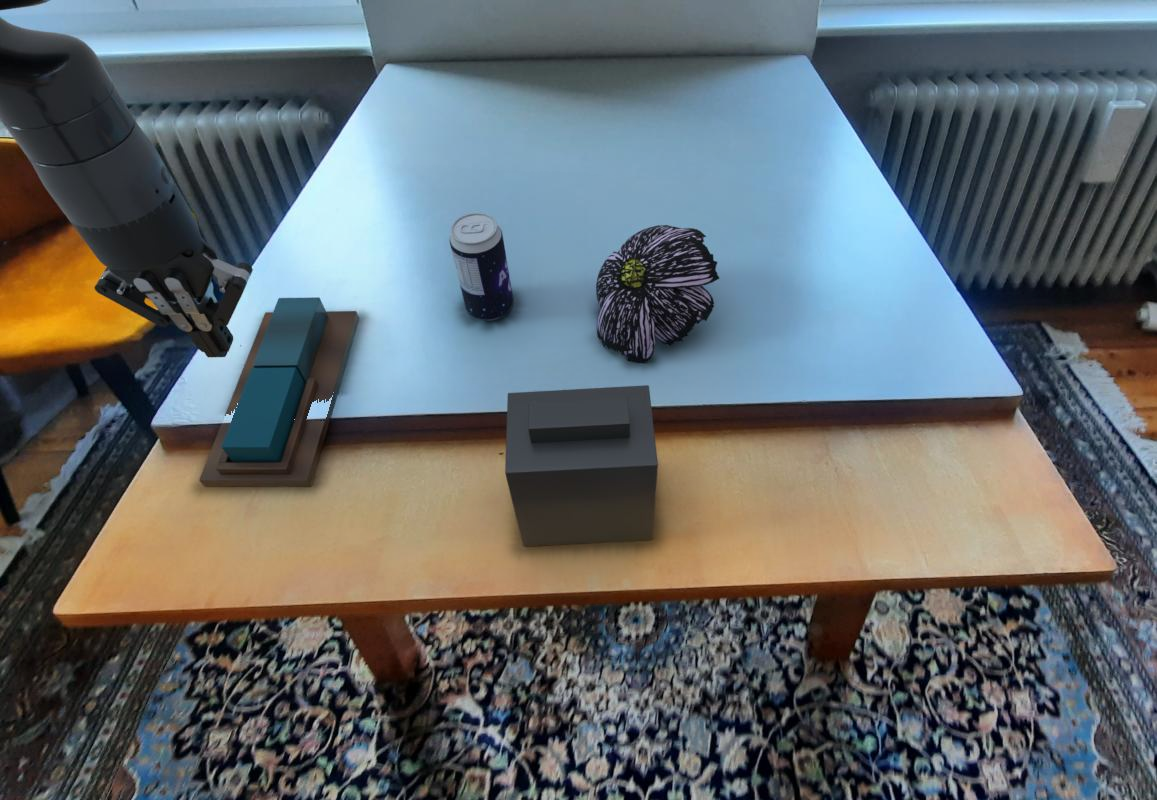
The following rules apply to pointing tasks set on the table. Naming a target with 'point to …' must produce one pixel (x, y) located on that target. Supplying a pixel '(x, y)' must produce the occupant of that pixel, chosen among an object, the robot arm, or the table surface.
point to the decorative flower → (654, 290)
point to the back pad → (264, 415)
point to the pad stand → (582, 465)
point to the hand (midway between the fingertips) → (220, 350)
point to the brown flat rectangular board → (320, 357)
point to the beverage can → (481, 266)
